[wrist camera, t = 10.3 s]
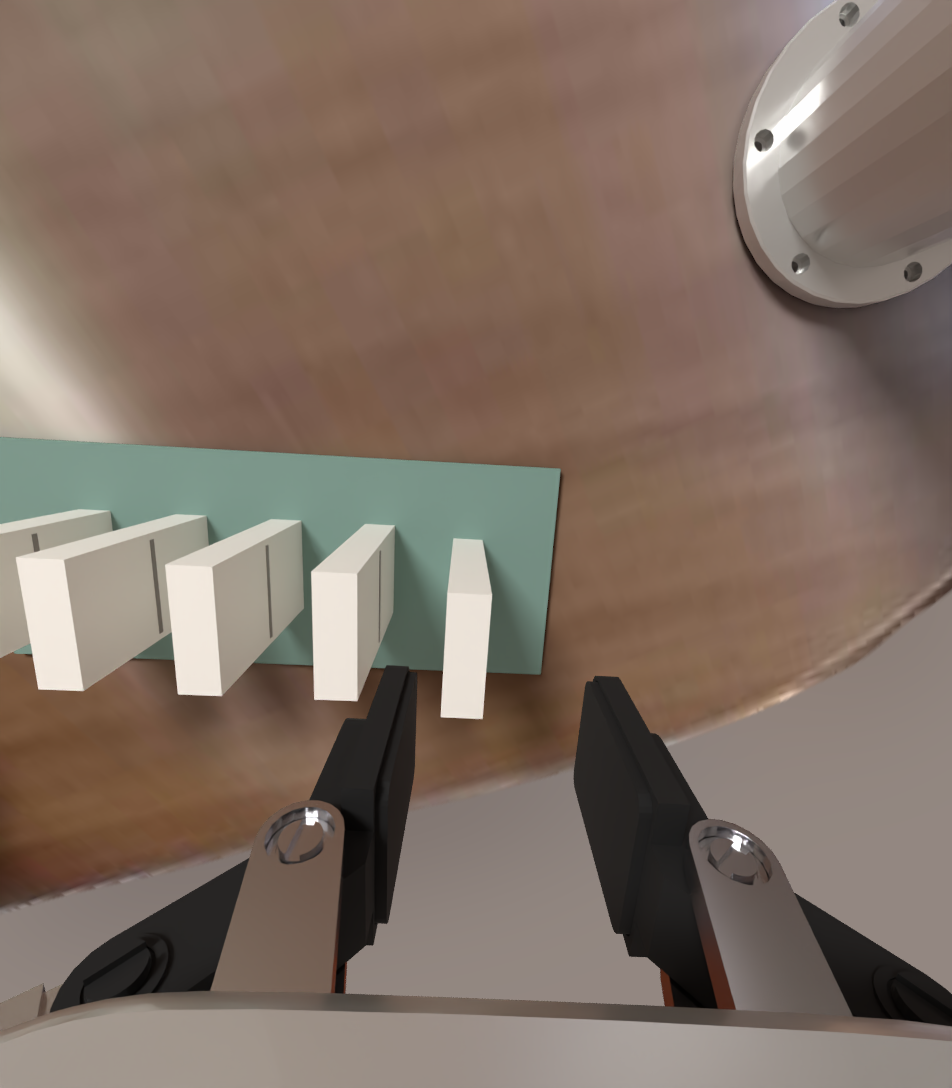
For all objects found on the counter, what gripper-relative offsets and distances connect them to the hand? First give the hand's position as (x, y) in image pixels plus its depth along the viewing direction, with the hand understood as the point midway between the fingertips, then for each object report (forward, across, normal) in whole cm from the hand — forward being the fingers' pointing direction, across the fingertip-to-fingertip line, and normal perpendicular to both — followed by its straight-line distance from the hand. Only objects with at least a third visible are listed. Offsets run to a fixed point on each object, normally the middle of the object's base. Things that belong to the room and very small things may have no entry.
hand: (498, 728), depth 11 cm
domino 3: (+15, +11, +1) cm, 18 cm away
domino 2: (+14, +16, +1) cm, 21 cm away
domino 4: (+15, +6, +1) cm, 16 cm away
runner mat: (+15, +11, +1) cm, 19 cm away
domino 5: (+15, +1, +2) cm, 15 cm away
